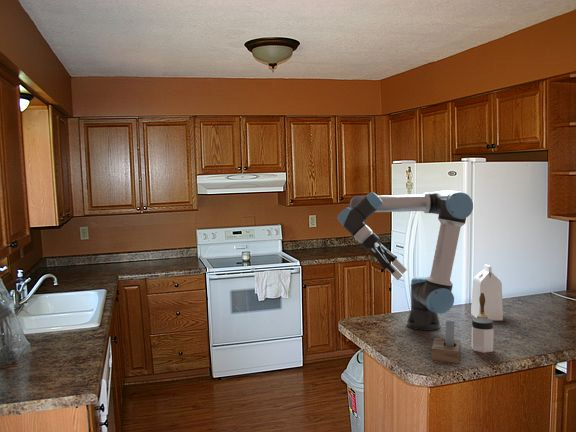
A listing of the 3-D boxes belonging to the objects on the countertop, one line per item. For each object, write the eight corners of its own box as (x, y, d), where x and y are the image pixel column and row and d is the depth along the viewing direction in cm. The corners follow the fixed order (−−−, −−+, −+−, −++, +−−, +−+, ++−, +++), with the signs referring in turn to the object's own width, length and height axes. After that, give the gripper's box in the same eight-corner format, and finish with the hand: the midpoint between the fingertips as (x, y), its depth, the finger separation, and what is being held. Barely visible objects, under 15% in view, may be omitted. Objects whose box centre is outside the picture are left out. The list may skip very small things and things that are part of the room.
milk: (502, 320, 254) (504, 267, 252) (479, 320, 254) (480, 267, 252) (493, 313, 266) (494, 263, 264) (470, 313, 266) (471, 263, 264)
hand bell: (471, 328, 242) (472, 294, 241) (474, 323, 250) (474, 290, 248) (490, 330, 238) (491, 295, 237) (492, 325, 246) (493, 292, 244)
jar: (497, 349, 213) (497, 320, 212) (489, 354, 207) (489, 324, 206) (475, 344, 219) (476, 316, 218) (467, 349, 213) (467, 320, 212)
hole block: (434, 348, 215) (434, 337, 215) (460, 350, 211) (460, 340, 211) (431, 359, 202) (431, 348, 201) (458, 362, 198) (458, 351, 198)
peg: (445, 354, 208) (446, 319, 207) (453, 354, 207) (454, 320, 206) (445, 356, 205) (445, 321, 204) (453, 357, 204) (454, 322, 203)
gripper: (366, 240, 235) (400, 275, 231) (354, 248, 212) (391, 286, 208) (378, 228, 233) (412, 263, 229) (367, 235, 209) (404, 274, 205)
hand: (402, 274), depth 218 cm, fingers open, 13 cm apart
